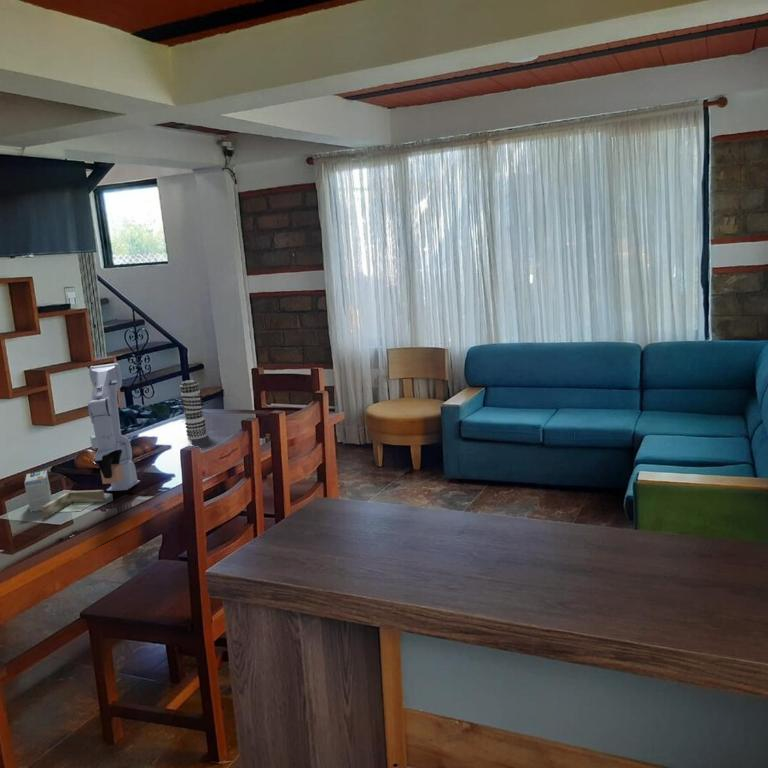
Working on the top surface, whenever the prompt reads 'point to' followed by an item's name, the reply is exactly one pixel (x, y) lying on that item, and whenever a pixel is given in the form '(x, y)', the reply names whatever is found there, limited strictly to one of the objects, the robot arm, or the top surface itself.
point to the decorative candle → (193, 409)
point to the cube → (114, 474)
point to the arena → (73, 497)
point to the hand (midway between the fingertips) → (111, 475)
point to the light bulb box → (37, 490)
